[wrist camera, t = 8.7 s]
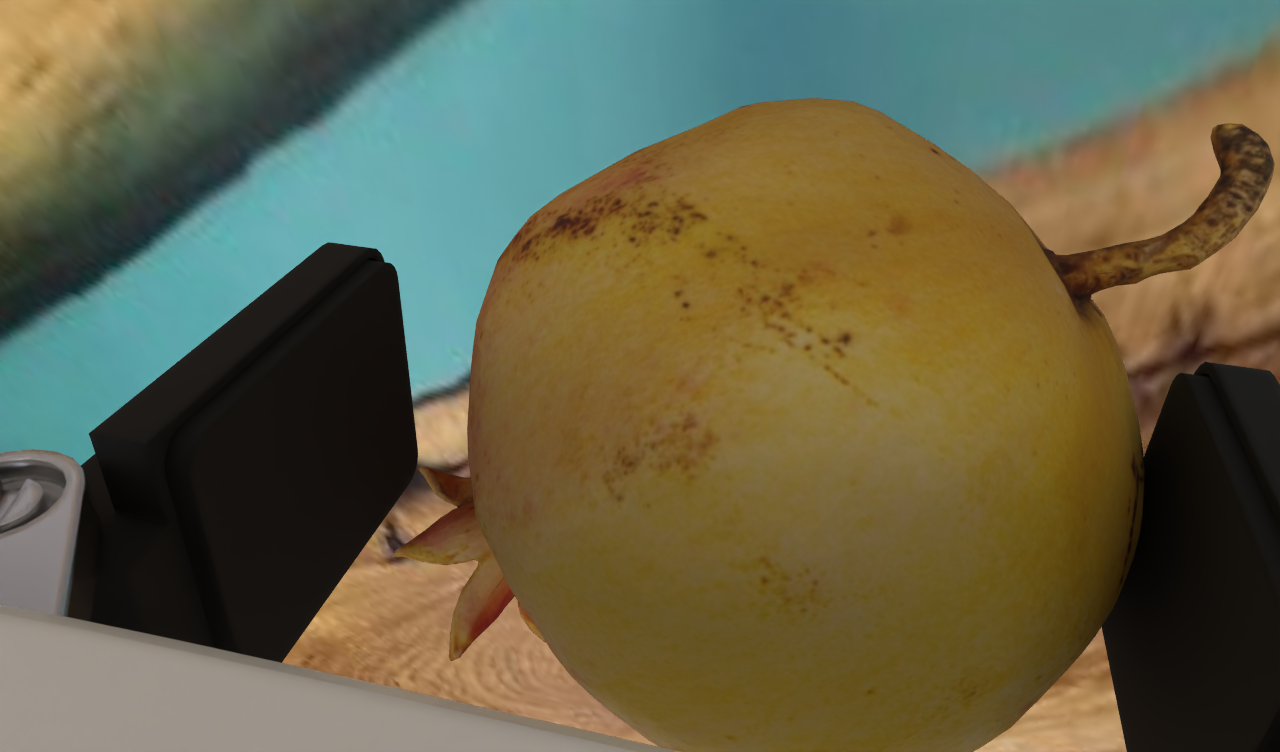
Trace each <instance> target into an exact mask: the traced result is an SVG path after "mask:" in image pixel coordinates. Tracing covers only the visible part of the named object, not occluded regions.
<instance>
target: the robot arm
mask: <svg viewBox="0 0 1280 752" xmlns="http://www.w3.org/2000/svg"><path fill="white" fill-rule="evenodd" d="M89 435H90V438H91V441H92V444H93V447H94V450H95V453H96V454H94V455H93V456H92V457H91V458H90V459H88V460H87V461H86V462H85V463H84V464H83V465H81V466H80V465H79V464H78V463H77V462H76V461H75V460H74V459H73V458H71V457H69V456H66V455H64V454H61V453H58V452H55V451H44V450H34V449H33V450H22V451H11V452H5V453H1V454H0V752H679V751H675V750H670V749H666V748H661V747H657V746H653V745H648V744H644V743H639V742H635V741H631V740H626V739H622V738H617V737H613V736H608V735H604V734H600V733H595V732H591V731H586V730H582V729H577V728H573V727H568V726H564V725H560V724H555V723H551V722H546V721H542V720H537V719H533V718H528V717H524V716H519V715H515V714H511V713H506V712H502V711H497V710H493V709H488V708H484V707H479V706H475V705H470V704H466V703H462V702H457V701H453V700H448V699H444V698H439V697H435V696H430V695H426V694H421V693H417V692H412V691H408V690H403V689H399V688H394V687H389V686H385V685H380V684H376V683H371V682H367V681H362V680H357V679H353V678H348V677H344V676H339V675H335V674H330V673H326V672H321V671H316V670H312V669H307V668H303V667H298V666H294V665H289V664H285V663H282V662H283V660H284V659H285V657H286V656H287V654H288V653H289V652H290V650H291V649H292V647H293V646H294V645H295V643H296V642H297V640H298V639H299V638H300V636H301V635H302V633H303V632H304V631H305V629H306V628H307V626H308V625H309V624H310V622H311V621H312V619H313V618H314V617H315V615H316V614H317V612H318V611H319V610H320V608H321V607H322V605H323V604H324V603H325V601H326V600H327V598H328V597H329V596H330V594H331V593H332V591H333V590H334V588H335V587H336V586H337V584H338V583H339V581H340V580H341V579H342V577H343V576H344V574H345V573H346V572H347V570H348V569H349V567H350V566H351V565H352V563H353V562H354V560H355V559H356V558H357V556H358V555H359V553H360V552H361V551H362V549H363V548H364V546H365V545H366V544H367V542H368V541H369V539H370V538H371V537H372V535H373V534H374V532H375V531H376V530H377V528H378V527H379V525H380V524H381V523H382V521H383V520H384V518H385V517H386V515H387V514H388V513H389V511H390V510H391V508H392V507H393V506H394V504H395V503H396V501H397V500H398V499H399V497H400V496H401V494H402V493H403V492H404V490H405V489H406V487H407V486H408V485H409V483H410V481H411V480H412V478H413V475H414V473H415V470H416V466H417V459H418V448H417V439H416V430H415V422H414V413H413V404H412V396H411V387H410V378H409V370H408V361H407V352H406V344H405V335H404V326H403V318H402V309H401V300H400V292H399V283H398V276H397V271H396V269H395V267H394V266H393V265H392V264H391V263H385V262H384V259H383V257H382V255H381V253H380V252H379V251H378V250H377V249H373V248H366V247H358V246H351V245H344V244H336V243H326V244H324V245H322V246H321V247H320V248H319V249H317V250H316V251H315V252H314V253H312V254H311V255H310V256H309V257H307V258H306V259H305V260H304V261H303V262H301V263H300V264H299V265H298V266H296V267H295V268H294V269H293V270H291V271H290V272H289V273H288V274H286V275H285V276H284V277H283V278H281V279H280V280H279V281H278V282H276V283H275V284H274V285H273V286H271V287H270V288H269V289H268V290H267V291H265V292H264V293H263V294H262V295H260V296H259V297H258V298H257V299H255V300H254V301H253V302H252V303H250V304H249V305H248V306H247V307H245V308H244V309H243V310H242V311H240V312H239V313H238V314H237V315H235V316H234V317H233V318H232V319H231V320H229V321H228V322H227V323H226V324H224V325H223V326H222V327H221V328H219V329H218V330H217V331H216V332H214V333H213V334H212V335H211V336H209V337H208V338H207V339H206V340H204V341H203V342H202V343H201V344H200V345H198V346H197V347H196V348H195V349H193V350H192V351H191V352H190V353H188V354H187V355H186V356H185V357H183V358H182V359H181V360H180V361H178V362H177V363H176V364H175V365H173V366H172V367H171V368H170V369H168V370H167V371H166V372H165V373H164V374H162V375H161V376H160V377H159V378H157V379H156V380H155V381H154V382H152V383H151V384H150V385H149V386H147V387H146V388H145V389H144V390H142V391H141V392H140V393H139V394H137V395H136V396H135V397H134V398H132V399H131V400H130V401H129V402H128V403H126V404H125V405H124V406H123V407H121V408H120V409H119V410H118V411H116V412H115V413H114V414H113V415H111V416H110V417H109V418H108V419H106V420H105V421H104V422H103V423H101V424H100V425H99V426H98V427H96V428H95V429H94V430H93V431H92V432H90V433H89ZM1144 470H1145V471H1144V499H1143V515H1142V522H1141V529H1140V535H1139V539H1138V543H1137V547H1136V550H1135V554H1134V558H1133V561H1132V563H1131V566H1130V569H1129V571H1128V574H1127V577H1126V579H1125V582H1124V584H1123V587H1122V589H1121V592H1120V594H1119V597H1118V599H1117V601H1116V603H1115V605H1114V607H1113V609H1112V611H1111V612H1110V614H1109V615H1108V617H1107V619H1106V620H1105V622H1104V623H1103V625H1102V631H1103V636H1104V640H1105V645H1106V650H1107V655H1108V660H1109V665H1110V670H1111V675H1112V680H1113V685H1114V690H1115V695H1116V700H1117V705H1118V710H1119V715H1120V719H1121V724H1122V729H1123V734H1124V739H1125V744H1126V749H1127V752H1280V385H1279V383H1278V381H1277V380H1276V378H1275V376H1274V375H1273V374H1272V373H1271V372H1270V371H1267V370H1261V369H1253V368H1246V367H1239V366H1231V365H1224V364H1217V363H1210V362H1205V363H1203V364H1201V365H1200V366H1199V367H1198V369H1197V370H1196V371H1195V373H1194V375H1192V374H1185V373H1180V374H1178V375H1177V376H1176V377H1175V379H1174V380H1173V382H1172V384H1171V386H1170V389H1169V391H1168V394H1167V397H1166V399H1165V402H1164V405H1163V407H1162V410H1161V413H1160V415H1159V418H1158V421H1157V423H1156V426H1155V429H1154V432H1153V434H1152V437H1151V440H1150V442H1149V445H1148V448H1147V450H1146V453H1145V456H1144Z"/></svg>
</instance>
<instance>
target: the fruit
mask: <svg viewBox="0 0 1280 752" xmlns="http://www.w3.org/2000/svg"><path fill="white" fill-rule="evenodd" d="M1211 141H1212V145H1213V150H1214V153H1215V156H1216V158H1217V161H1218V164H1219V166H1220V169H1221V176H1220V178H1219V179H1218V181H1217V183H1216V184H1215V186H1214V187H1213V189H1212V191H1211V192H1210V194H1209V196H1208V197H1207V198H1206V199H1205V201H1204V202H1203V203H1202V204H1201V205H1200V206H1199V208H1198V209H1197V210H1196V212H1195V213H1194V214H1193V215H1192V216H1191V217H1190V218H1189V219H1187V220H1186V221H1185V222H1184V223H1182V224H1180V225H1179V226H1177V227H1175V228H1174V229H1172V230H1170V231H1168V232H1167V233H1165V234H1163V235H1161V236H1158V237H1154V238H1151V239H1147V240H1142V241H1136V242H1130V243H1124V244H1120V245H1115V246H1111V247H1107V248H1102V249H1098V250H1094V251H1088V252H1082V253H1077V254H1071V255H1055V253H1054V252H1053V251H1051V250H1048V249H1047V248H1046V247H1045V245H1044V244H1043V243H1042V241H1041V240H1040V239H1039V238H1038V237H1037V235H1036V234H1035V233H1034V232H1033V230H1032V229H1031V228H1030V227H1029V225H1028V224H1027V223H1026V222H1025V221H1024V219H1023V218H1022V217H1021V216H1020V214H1019V213H1018V212H1017V211H1016V209H1015V208H1014V207H1013V206H1012V205H1011V204H1010V203H1009V202H1008V201H1006V200H1005V199H1004V198H1003V197H1002V196H1001V195H999V194H998V193H997V192H996V191H995V190H994V189H992V188H991V187H990V186H989V185H988V184H986V183H985V182H984V181H983V180H982V179H981V178H979V177H978V176H977V175H976V174H975V173H974V172H972V171H971V170H970V169H969V168H967V167H966V166H964V165H963V164H962V163H960V162H959V161H957V160H956V159H955V158H953V157H952V156H950V155H949V154H947V153H946V152H945V151H943V150H942V149H940V148H939V147H938V146H936V145H935V144H933V143H931V142H930V141H928V140H926V139H925V138H923V137H921V136H920V135H918V134H916V133H915V132H913V131H911V130H910V129H908V128H906V127H905V126H903V125H901V124H900V123H898V122H896V121H895V120H893V119H891V118H890V117H888V116H886V115H885V114H883V113H881V112H880V111H877V110H874V109H872V108H869V107H866V106H863V105H861V104H858V103H855V102H852V101H841V100H831V99H819V98H809V99H798V100H786V101H775V102H764V103H756V104H752V105H747V106H743V107H740V108H738V109H736V110H733V111H731V112H729V113H727V114H724V115H722V116H720V117H718V118H715V119H713V120H711V121H709V122H707V123H704V124H702V125H700V126H698V127H695V128H693V129H690V130H688V131H685V132H683V133H680V134H678V135H675V136H673V137H670V138H668V139H665V140H663V141H660V142H658V143H656V144H653V145H651V146H648V147H646V148H643V149H641V150H639V151H636V152H634V153H632V154H631V155H629V156H627V157H625V158H623V159H622V160H620V161H618V162H616V163H615V164H613V165H611V166H609V167H607V168H606V169H604V170H602V171H600V172H599V173H597V174H595V175H593V176H592V177H590V178H588V179H586V180H584V181H583V182H581V183H579V184H577V185H576V186H574V187H572V188H570V189H568V190H567V191H565V192H563V193H561V194H560V195H558V196H557V197H556V198H554V199H553V200H552V201H550V202H549V203H548V204H546V205H545V206H544V207H543V208H541V209H540V210H539V211H537V212H536V213H535V214H533V215H532V216H531V217H530V218H529V219H528V220H527V222H526V223H525V224H524V225H523V227H522V228H521V229H520V230H519V231H518V233H517V234H516V235H515V236H514V238H513V239H512V241H511V242H510V244H509V245H508V246H507V248H506V249H505V251H504V252H503V253H502V255H501V256H500V258H499V259H498V261H497V264H496V267H495V270H494V273H493V275H492V278H491V281H490V284H489V287H488V290H487V293H486V296H485V298H484V301H483V304H482V307H481V310H480V313H479V316H478V319H477V323H476V330H475V338H474V345H473V355H472V364H471V378H470V394H469V411H468V427H467V434H468V459H469V466H470V474H471V478H462V477H459V476H455V475H451V474H448V473H445V472H441V471H438V470H435V469H432V468H429V467H420V468H419V470H420V472H421V473H422V474H423V475H424V477H425V478H426V480H427V482H428V483H429V485H430V487H431V489H432V490H433V491H434V492H435V494H436V495H437V496H438V497H440V498H441V499H443V500H444V501H446V502H448V503H450V504H453V505H455V506H457V507H458V508H456V509H454V510H452V511H450V512H449V513H448V514H446V515H444V516H443V517H441V518H440V519H438V520H437V521H436V522H435V523H434V524H432V525H431V526H430V527H429V528H427V529H426V530H425V531H424V532H422V533H421V534H419V535H418V536H416V537H415V538H414V539H412V540H411V541H409V542H408V543H407V544H405V545H403V546H402V547H400V548H398V549H396V550H395V552H394V554H393V555H392V556H393V557H406V558H410V559H414V560H417V561H421V562H426V563H432V564H441V565H450V564H457V563H464V562H468V561H471V560H476V561H479V562H478V566H477V568H476V569H475V571H474V573H473V574H472V576H471V577H470V579H469V580H468V582H467V583H466V585H465V587H464V588H463V590H462V591H461V594H460V596H459V599H458V602H457V605H456V607H455V610H454V613H453V619H452V625H451V632H450V650H449V658H450V661H453V660H455V659H458V658H460V657H461V656H462V654H463V653H464V652H465V651H466V649H467V648H468V647H469V646H470V645H471V643H472V642H473V641H474V640H475V639H476V638H477V637H478V636H479V635H480V634H481V633H482V632H483V631H485V630H486V629H487V628H488V627H489V626H490V625H491V624H492V623H493V622H494V621H495V620H496V619H497V618H498V616H499V615H500V614H501V612H502V611H503V610H504V608H505V607H506V606H507V605H508V603H509V602H510V601H511V600H512V599H513V598H514V596H515V597H516V599H517V600H518V607H519V610H520V613H521V617H522V618H523V620H524V621H525V623H526V624H527V626H528V627H529V629H530V630H531V631H532V632H533V633H534V634H535V635H537V636H538V637H539V638H540V639H542V640H543V641H544V642H545V643H547V644H548V646H549V648H550V649H551V650H552V652H553V653H554V655H555V656H556V658H557V659H558V660H559V661H560V663H561V664H562V665H563V666H564V668H565V669H566V670H567V671H568V673H569V674H570V675H571V676H572V677H573V678H574V679H575V680H576V681H577V682H578V683H579V684H580V685H581V686H582V687H583V688H584V689H585V690H586V691H587V692H588V693H589V694H590V695H592V696H593V697H594V698H595V699H596V700H597V701H598V702H600V703H601V704H602V705H603V706H604V707H605V708H607V709H608V710H609V711H610V712H611V713H613V714H614V715H616V716H617V717H618V718H620V719H621V720H622V721H624V722H625V723H626V724H628V725H629V726H630V727H632V728H633V729H634V730H636V731H637V732H638V733H640V734H641V735H642V736H644V737H645V738H646V739H648V740H649V741H651V742H652V743H654V744H656V745H658V746H659V747H661V748H666V749H670V750H675V751H679V752H973V751H975V750H977V749H979V748H981V747H982V746H984V745H985V744H987V743H988V742H990V741H991V740H993V739H994V738H996V737H997V736H999V735H1000V734H1002V733H1003V732H1005V731H1006V730H1008V729H1009V728H1011V727H1012V726H1013V725H1014V724H1015V723H1016V722H1017V721H1018V720H1019V719H1020V718H1021V717H1022V716H1023V715H1024V714H1025V713H1026V712H1027V711H1028V710H1029V709H1030V708H1031V707H1032V706H1033V705H1034V704H1035V703H1036V702H1037V701H1038V700H1039V699H1040V698H1041V697H1042V696H1043V695H1044V694H1045V693H1046V691H1047V690H1048V689H1049V688H1050V687H1051V686H1052V685H1053V684H1054V683H1055V682H1056V681H1057V680H1058V679H1059V678H1060V677H1061V676H1062V675H1063V674H1064V672H1065V671H1066V670H1067V669H1068V668H1069V667H1070V666H1071V665H1072V664H1073V663H1074V662H1075V661H1076V659H1077V658H1078V657H1079V656H1080V655H1081V654H1082V652H1083V651H1084V650H1085V649H1086V647H1087V646H1088V645H1089V643H1090V642H1091V641H1092V640H1093V638H1094V637H1095V635H1096V634H1097V632H1098V631H1099V629H1100V628H1101V626H1102V625H1103V623H1104V622H1105V620H1106V619H1107V617H1108V615H1109V614H1110V612H1111V611H1112V609H1113V607H1114V605H1115V603H1116V601H1117V599H1118V597H1119V594H1120V592H1121V589H1122V587H1123V584H1124V582H1125V579H1126V577H1127V574H1128V571H1129V569H1130V566H1131V563H1132V561H1133V558H1134V554H1135V550H1136V547H1137V543H1138V539H1139V535H1140V529H1141V522H1142V515H1143V499H1144V471H1145V470H1144V458H1143V449H1142V442H1141V435H1140V428H1139V421H1138V417H1137V413H1136V409H1135V405H1134V401H1133V396H1132V392H1131V388H1130V384H1129V380H1128V376H1127V373H1126V370H1125V367H1124V364H1123V361H1122V358H1121V355H1120V352H1119V349H1118V346H1117V343H1116V341H1115V338H1114V336H1113V334H1112V331H1111V329H1110V327H1109V325H1108V322H1107V320H1106V318H1105V316H1104V314H1103V313H1102V312H1101V311H1100V309H1099V308H1098V307H1097V306H1096V304H1095V303H1094V302H1093V301H1092V300H1091V295H1092V294H1093V293H1096V292H1098V291H1100V290H1103V289H1106V288H1110V287H1113V286H1118V285H1127V284H1136V283H1138V282H1140V281H1142V280H1144V279H1146V278H1148V277H1150V276H1153V275H1157V274H1161V273H1167V272H1173V271H1180V270H1187V269H1191V268H1193V267H1195V266H1196V265H1198V264H1200V263H1201V262H1203V261H1204V260H1206V259H1207V258H1208V257H1210V256H1211V255H1213V254H1214V253H1216V252H1217V251H1218V250H1220V249H1221V248H1222V247H1224V246H1225V245H1226V244H1228V243H1229V242H1230V241H1232V240H1233V239H1234V238H1236V236H1237V235H1238V234H1239V232H1240V231H1241V230H1242V229H1243V227H1244V226H1245V225H1246V224H1247V222H1248V221H1249V220H1250V218H1251V217H1252V216H1253V215H1254V213H1255V212H1256V211H1257V209H1258V208H1259V206H1260V204H1261V202H1262V200H1263V198H1264V196H1265V194H1266V192H1267V190H1268V187H1269V185H1270V182H1271V179H1272V175H1273V170H1274V161H1273V158H1272V155H1271V152H1270V149H1269V146H1268V144H1267V143H1266V142H1265V141H1264V140H1263V139H1262V138H1261V137H1260V136H1259V134H1257V133H1255V132H1254V131H1252V130H1251V129H1249V128H1247V127H1246V126H1244V125H1242V124H1222V125H1217V126H1216V127H1214V128H1213V129H1212V134H1211Z"/></svg>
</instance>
